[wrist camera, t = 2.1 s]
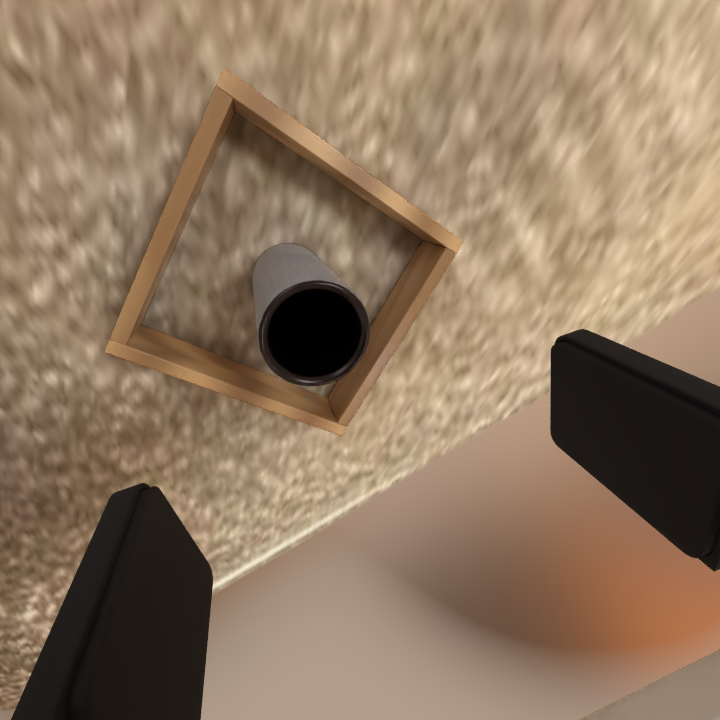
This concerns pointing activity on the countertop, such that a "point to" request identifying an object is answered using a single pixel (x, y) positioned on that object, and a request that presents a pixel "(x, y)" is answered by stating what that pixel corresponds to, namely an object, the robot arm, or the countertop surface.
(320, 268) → the planter
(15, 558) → the countertop surface
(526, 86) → the countertop surface
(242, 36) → the countertop surface
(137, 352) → the wooden square frame
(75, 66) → the countertop surface
